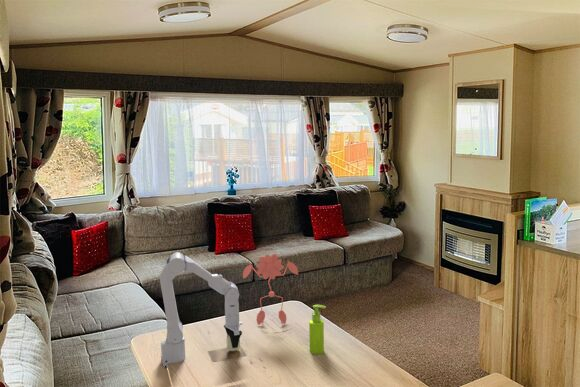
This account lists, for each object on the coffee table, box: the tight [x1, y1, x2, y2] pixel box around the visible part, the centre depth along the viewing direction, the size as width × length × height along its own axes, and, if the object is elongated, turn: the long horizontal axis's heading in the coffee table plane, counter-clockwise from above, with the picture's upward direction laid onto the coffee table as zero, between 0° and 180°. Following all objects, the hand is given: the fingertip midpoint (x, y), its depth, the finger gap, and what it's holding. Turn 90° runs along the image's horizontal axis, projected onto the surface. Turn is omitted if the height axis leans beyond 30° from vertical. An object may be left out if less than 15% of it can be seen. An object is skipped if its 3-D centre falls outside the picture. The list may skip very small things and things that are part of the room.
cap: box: [225, 335, 241, 351], centre depth 202 cm, size 5×5×5 cm
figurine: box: [242, 253, 299, 334], centre depth 226 cm, size 15×26×35 cm, turn 90°
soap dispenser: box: [308, 304, 327, 355], centre depth 202 cm, size 6×7×20 cm
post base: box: [207, 344, 247, 363], centre depth 201 cm, size 14×10×4 cm
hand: (233, 344), depth 203 cm, fingers closed on cap, 5 cm apart
